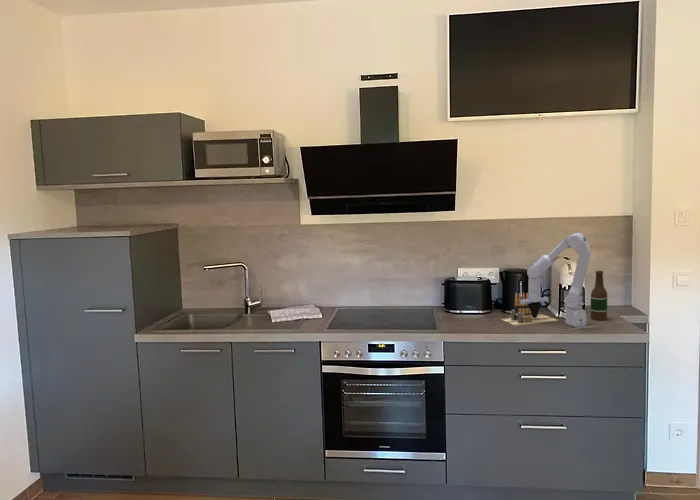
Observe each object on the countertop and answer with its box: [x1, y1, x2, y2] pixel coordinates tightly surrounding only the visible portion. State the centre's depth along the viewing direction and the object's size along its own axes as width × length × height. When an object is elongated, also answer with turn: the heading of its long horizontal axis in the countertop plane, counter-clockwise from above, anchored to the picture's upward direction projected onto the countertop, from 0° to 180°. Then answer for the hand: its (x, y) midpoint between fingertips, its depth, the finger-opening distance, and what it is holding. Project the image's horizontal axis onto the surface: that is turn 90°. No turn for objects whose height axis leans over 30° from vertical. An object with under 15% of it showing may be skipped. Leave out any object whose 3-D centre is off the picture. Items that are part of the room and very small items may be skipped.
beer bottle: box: [590, 270, 608, 322], centre depth 289 cm, size 8×8×24 cm
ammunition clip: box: [514, 292, 532, 315], centre depth 303 cm, size 11×2×12 cm, turn 78°
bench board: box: [500, 313, 559, 326], centre depth 289 cm, size 14×24×1 cm, turn 106°
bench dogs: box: [510, 308, 522, 323], centre depth 287 cm, size 8×2×6 cm, turn 16°
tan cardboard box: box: [515, 313, 532, 323], centre depth 288 cm, size 8×5×2 cm, turn 16°
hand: (534, 317), depth 290 cm, fingers closed
